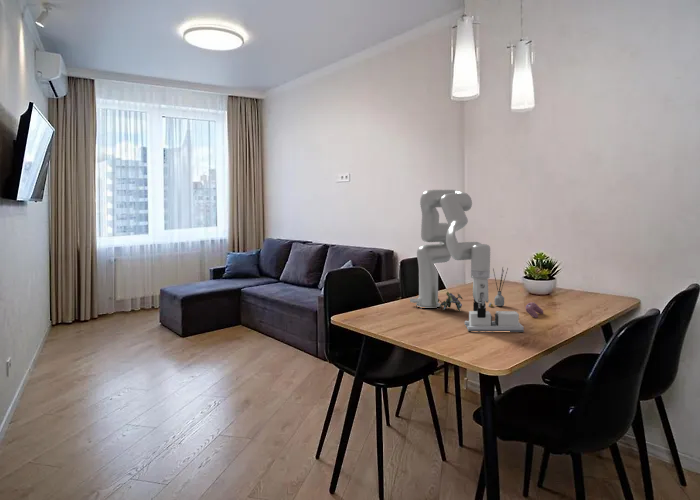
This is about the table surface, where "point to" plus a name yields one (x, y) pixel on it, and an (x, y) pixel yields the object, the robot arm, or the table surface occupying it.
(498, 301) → the reed diffuser
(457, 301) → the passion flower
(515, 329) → the rail dock
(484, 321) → the block
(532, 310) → the video game controller
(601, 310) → the table surface
